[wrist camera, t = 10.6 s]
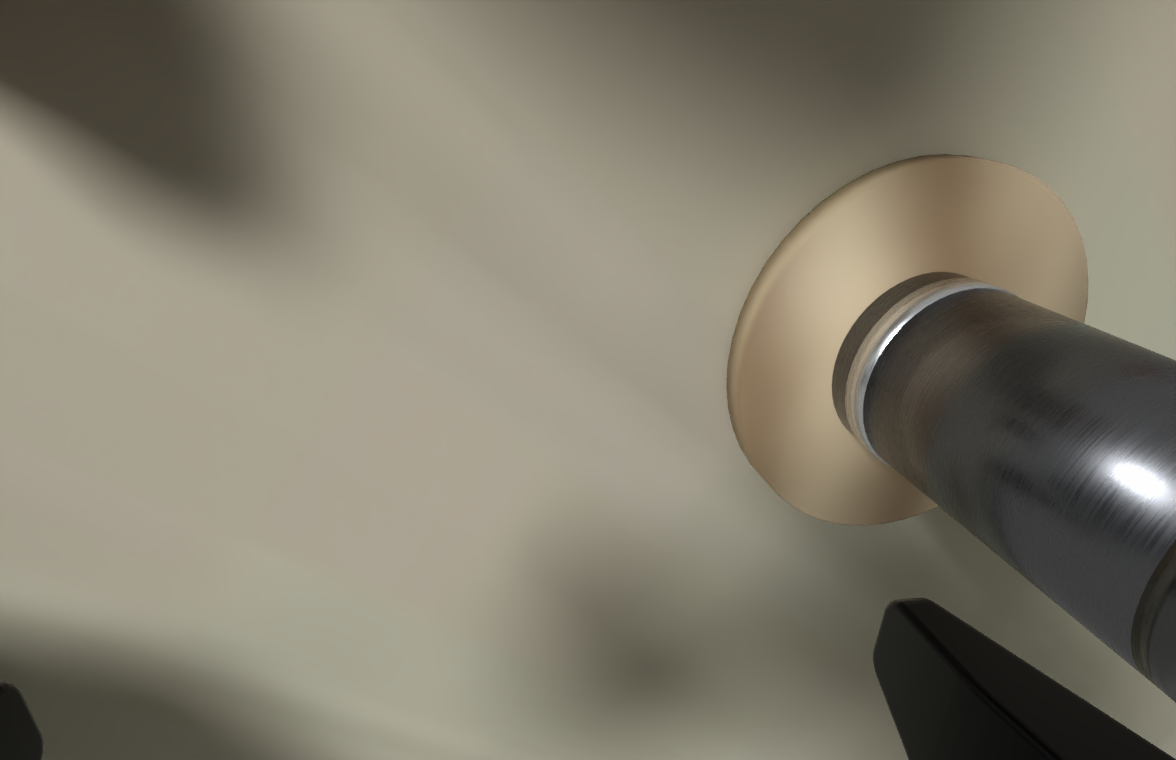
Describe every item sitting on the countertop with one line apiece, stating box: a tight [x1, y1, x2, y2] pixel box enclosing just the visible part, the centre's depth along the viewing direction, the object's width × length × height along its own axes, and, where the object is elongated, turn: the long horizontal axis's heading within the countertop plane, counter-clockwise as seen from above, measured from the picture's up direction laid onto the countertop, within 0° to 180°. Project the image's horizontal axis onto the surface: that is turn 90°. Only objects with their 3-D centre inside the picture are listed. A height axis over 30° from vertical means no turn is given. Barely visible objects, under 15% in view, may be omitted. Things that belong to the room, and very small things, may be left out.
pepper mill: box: [832, 272, 1176, 702], centre depth 17 cm, size 8×6×12 cm
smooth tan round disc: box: [727, 154, 1088, 525], centre depth 23 cm, size 12×12×1 cm
